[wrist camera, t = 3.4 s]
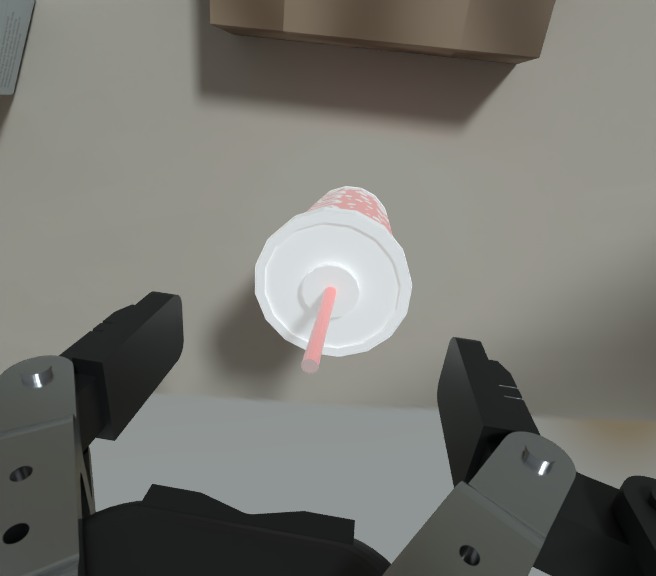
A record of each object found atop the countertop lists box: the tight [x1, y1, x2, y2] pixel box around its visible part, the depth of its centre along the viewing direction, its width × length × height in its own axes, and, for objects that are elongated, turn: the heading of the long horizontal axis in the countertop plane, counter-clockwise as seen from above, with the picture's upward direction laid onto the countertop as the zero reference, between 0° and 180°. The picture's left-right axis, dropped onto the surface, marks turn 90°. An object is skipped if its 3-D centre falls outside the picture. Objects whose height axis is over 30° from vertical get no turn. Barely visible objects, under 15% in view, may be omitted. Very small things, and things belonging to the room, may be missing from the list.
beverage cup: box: [255, 186, 412, 373], centre depth 17 cm, size 6×6×14 cm
